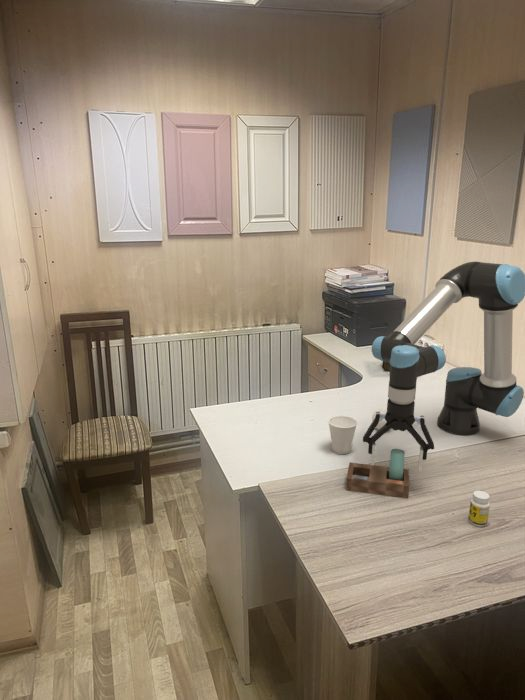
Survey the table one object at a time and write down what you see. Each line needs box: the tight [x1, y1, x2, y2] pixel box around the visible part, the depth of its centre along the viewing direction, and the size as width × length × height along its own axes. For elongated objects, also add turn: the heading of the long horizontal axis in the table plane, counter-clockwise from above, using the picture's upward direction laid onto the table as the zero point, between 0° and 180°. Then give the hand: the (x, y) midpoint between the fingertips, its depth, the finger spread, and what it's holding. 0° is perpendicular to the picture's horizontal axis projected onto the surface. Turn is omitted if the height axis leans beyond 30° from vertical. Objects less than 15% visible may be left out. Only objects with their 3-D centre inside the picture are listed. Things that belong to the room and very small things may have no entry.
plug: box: [388, 448, 406, 481], centre depth 154 cm, size 4×4×12 cm
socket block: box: [345, 461, 410, 499], centre depth 156 cm, size 18×10×4 cm, turn 76°
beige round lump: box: [371, 409, 387, 430], centre depth 194 cm, size 8×8×8 cm
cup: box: [327, 415, 358, 455], centre depth 177 cm, size 10×10×11 cm
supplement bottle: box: [468, 490, 491, 527], centre depth 138 cm, size 5×5×8 cm
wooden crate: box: [381, 361, 390, 373], centre depth 262 cm, size 7×7×7 cm
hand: (396, 466), depth 154 cm, fingers open, 13 cm apart
